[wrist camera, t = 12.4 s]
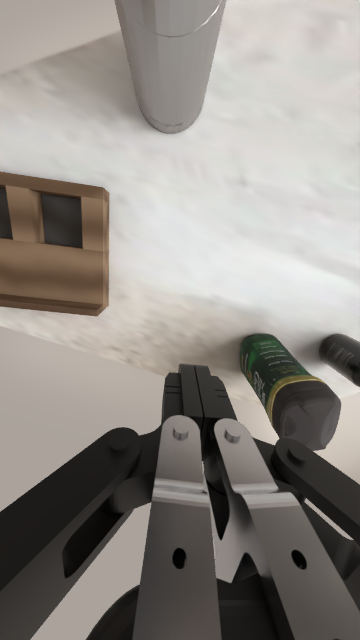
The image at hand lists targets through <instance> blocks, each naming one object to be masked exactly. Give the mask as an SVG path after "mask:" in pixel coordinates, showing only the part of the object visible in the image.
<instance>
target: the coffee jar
mask: <svg viewBox="0 0 360 640" xmlns="http://www.w3.org/2000/svg"><path fill="white" fill-rule="evenodd" d="M240 367H241V370H242V372H243V374H244V376H245V377H246V379H247V380H248V382H249V383H250V385H251V386H252V388H253V389H254V391H255V393H256V394H257V396H258V398H259V399H260V401H261V403H262V405H263V406H264V408H265V410H266V413H267V415H268V418H269V420H270V422H271V425H272V427H273V428H274V430H275V431H276V433H277V434H278V436H279V438H280V439H281V438H290V439H294V440H296V441H298V442H300V443H302V444H303V445H305V446H306V447H308V448H309V449H310V450H312V451H315V450H322V449H325V448H326V445H327V444H328V443H329V442H330V440H331V439H332V437H333V435H334V433H335V430H336V427H337V424H338V420H339V415H340V410H341V401H340V399H339V398H338V397H337V395H336V394H335V393H334V392H333V391H332V390H331V389H330V388H329V386H328V385H327V384H326V383H325V382H323V381H322V380H320V379H319V378H317V377H314V376H312V375H311V374H310V373H308V372H307V371H306V370H305V369H304V368H303V367H302V366H301V365H300V363H299V362H298V361H297V360H296V359H295V358H294V357H293V356H292V355H291V354H290V353H289V352H288V350H287V349H286V348H285V347H284V346H283V345H282V344H281V342H280V341H279V340H278V339H277V338H276V337H274V336H273V335H270V334H258V335H253V336H250V337H248V338H246V339H245V340H244V341H243V342H242V345H241V349H240Z"/></svg>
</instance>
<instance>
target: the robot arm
mask: <svg viewBox="0 0 360 640" xmlns="http://www.w3.org/2000/svg"><path fill="white" fill-rule="evenodd" d="M225 3H226V0H115V5H116V9H117V13H118V18H119V22H120V26H121V31H122V35H123V39H124V44H125V48H126V52H127V57H128V61H129V65H130V70H131V74H132V79H133V83H134V87H135V92H136V96H137V100H138V103H139V107H140V109H141V111H142V113H143V115H144V116H145V118H146V119H147V121H148V122H149V123H150V124H151V125H152V126H153V127H155V128H156V129H158V130H160V131H162V132H165V133H178V132H181V131H183V130H185V129H187V128H188V127H189V126H190V125H192V124H193V122H194V121H195V120H196V118H197V117H198V115H199V113H200V111H201V108H202V105H203V102H204V97H205V93H206V88H207V84H208V80H209V76H210V71H211V67H212V62H213V58H214V53H215V49H216V44H217V40H218V35H219V31H220V26H221V22H222V17H223V13H224V8H225ZM162 403H163V404H162V420H161V425H160V426H159V427H158V429H156V430H155V431H153V432H151V433H148V434H144V435H140V436H139V435H138V434H137V433H136V432H135V431H134V430H132V429H130V428H124V427H122V428H116V429H112V430H110V431H109V432H107V433H106V434H104V435H103V436H102V437H100V438H99V439H97V440H96V441H95V442H93V443H92V444H91V445H90V446H88V447H87V448H85V449H84V450H83V451H82V452H80V453H79V454H77V455H76V456H75V457H73V458H72V459H71V460H69V461H68V462H67V463H65V464H64V465H63V466H61V467H60V468H59V469H57V470H56V471H55V472H53V473H52V474H50V475H49V476H48V477H47V478H45V479H44V480H42V481H41V482H40V483H38V484H37V485H36V486H34V487H33V488H32V489H30V490H29V491H28V492H26V493H25V494H24V495H22V496H21V497H20V498H18V499H17V500H16V501H14V502H13V503H12V504H10V505H9V506H8V507H6V508H5V509H4V510H2V511H1V512H0V640H30V639H31V638H32V637H33V635H34V634H35V633H36V632H37V630H38V629H39V628H40V626H41V625H42V624H43V623H44V622H45V620H46V619H47V618H48V617H49V615H50V614H51V613H52V612H53V610H54V609H55V608H56V607H57V606H58V604H59V603H60V602H61V601H62V599H63V598H64V597H65V596H66V594H67V593H68V592H69V591H70V589H71V588H72V587H73V585H74V584H75V583H76V582H77V581H78V579H79V578H80V577H81V576H82V574H83V573H84V572H85V570H86V569H87V568H88V567H89V566H90V564H91V563H92V562H93V561H94V559H95V558H96V557H97V555H98V554H99V553H100V552H101V551H102V549H103V548H104V547H105V546H106V544H107V543H108V542H109V540H110V539H111V538H112V537H113V536H114V534H115V533H116V532H117V531H118V529H119V528H120V527H121V525H122V524H123V523H124V522H125V521H126V519H127V518H128V517H129V516H130V514H131V513H132V512H133V510H134V509H135V508H137V507H140V506H142V505H145V504H147V503H150V502H152V503H151V510H150V518H149V524H148V531H147V538H146V545H145V552H144V560H143V566H142V573H141V581H140V585H138V586H136V587H134V588H132V589H131V590H129V591H128V592H126V593H125V594H124V595H123V596H122V597H120V598H119V599H118V600H117V601H116V602H115V603H114V604H113V605H112V606H111V607H110V608H109V609H108V610H107V611H106V612H105V614H104V615H103V616H102V617H101V619H100V620H99V621H98V623H97V624H96V625H95V627H94V628H93V629H92V631H91V633H90V634H89V636H88V637H87V639H86V640H360V485H359V484H358V483H357V482H355V481H354V480H352V479H351V478H350V477H348V476H347V475H345V474H344V473H342V472H341V471H339V470H338V469H337V468H335V467H334V466H333V465H331V464H330V463H329V462H327V461H326V460H324V459H323V458H322V457H320V456H318V455H317V454H316V453H314V452H313V451H312V450H310V449H309V448H308V447H306V446H305V445H303V444H302V443H300V442H298V441H296V440H294V439H290V438H281V439H279V440H278V441H277V442H276V445H275V446H274V445H272V444H269V443H266V442H263V441H260V440H257V439H255V438H253V437H252V436H251V434H250V432H249V431H248V430H247V428H246V427H245V426H244V425H243V424H241V423H240V422H238V421H237V418H236V415H235V413H234V410H233V408H232V405H231V402H230V399H229V398H228V394H227V392H226V389H225V386H224V384H223V382H222V381H221V380H220V379H219V378H218V377H217V376H211V374H210V371H209V368H208V366H201V365H189V364H180V365H179V371H178V373H169V374H168V375H167V377H166V378H165V385H164V393H163V402H162ZM202 461H203V464H204V473H203V472H202ZM306 498H307V499H308V500H309V501H310V502H312V503H313V504H314V505H315V506H316V507H317V508H319V509H320V510H321V511H322V512H323V513H324V514H325V515H326V516H328V517H329V518H330V519H331V520H332V521H333V522H334V523H336V524H337V525H338V526H339V527H340V528H341V529H342V530H344V531H345V532H346V533H347V534H348V535H349V536H350V537H352V538H353V539H354V540H349V539H347V538H345V537H343V536H342V535H341V534H339V533H338V532H337V531H336V530H335V529H334V528H333V527H332V526H331V525H329V524H328V523H327V522H326V521H325V520H324V519H323V518H322V517H320V516H319V515H318V514H317V513H316V512H315V511H314V510H312V508H310V507H309V506H308V505H307V504H306V503H305V502H304V501H305V499H306ZM212 533H213V536H212ZM213 538H214V544H215V555H216V556H215V559H214V548H213ZM215 568H216V570H215Z"/></svg>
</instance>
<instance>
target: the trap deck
mask: <svg viewBox="0 0 360 640" xmlns="http://www.w3.org/2000/svg"><path fill="white" fill-rule="evenodd" d="M2 188H4V189H2ZM43 194H45V195H43ZM50 195H52V196H50ZM57 196H59V197H57ZM64 197H66V198H64ZM70 198H73V199H70ZM77 199H80V200H77ZM3 237H7V238H3ZM11 238H13V239H11ZM50 243H54V244H50ZM58 244H61V245H58ZM65 245H69V246H65ZM73 246H77V247H73ZM81 247H83V248H81ZM108 293H109V192H108V191H107V190H105V189H104V188H103V187H97V186H90V185H84V184H77V183H70V182H64V181H57V180H51V179H44V178H38V177H31V176H25V175H18V174H11V173H5V172H0V306H1V307H11V308H21V309H31V310H40V311H50V312H60V313H70V314H79V315H89V316H98V315H99V314H100V313H101V312H102V311H103V310H104V309H105V308H106V307H107V306H108Z"/></svg>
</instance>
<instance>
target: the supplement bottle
mask: <svg viewBox="0 0 360 640" xmlns="http://www.w3.org/2000/svg"><path fill="white" fill-rule="evenodd" d="M320 357H321V359H322V360H323V361H324V362H325V363H326V364H328V365H329V366H330V367H332V368H333V369H334V370H336V371H337V372H339V373H340V374H341V375H343V376H344V377H345V378H347V379H348V380H349V381H351V382H352V383H353V384H355V385H356V386H358V387H360V342H359V341H357V340H355V339H353V338H351V337H349V336H346V335H342V334H338V335H334V336H331V337H329V338H328V339H326V340H325V341H324V342H323V344H322V345H321V347H320Z"/></svg>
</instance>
